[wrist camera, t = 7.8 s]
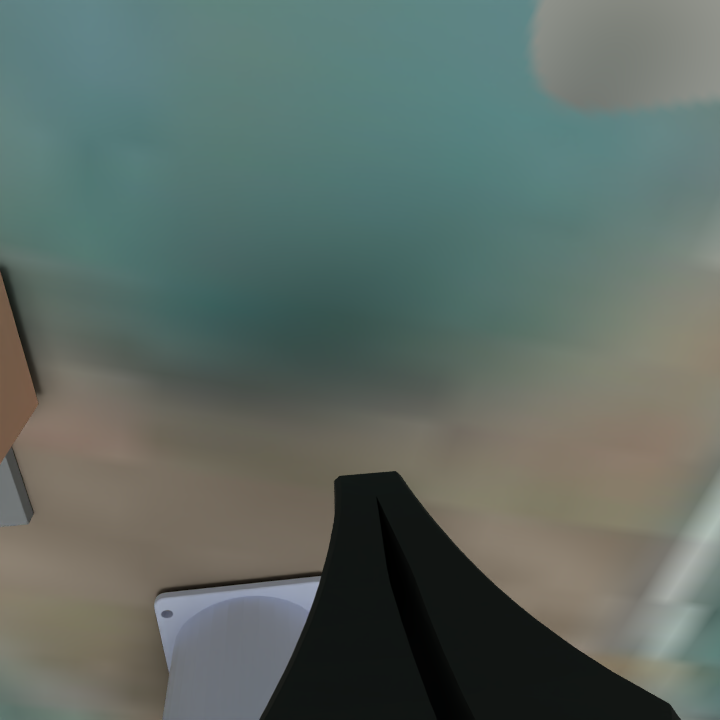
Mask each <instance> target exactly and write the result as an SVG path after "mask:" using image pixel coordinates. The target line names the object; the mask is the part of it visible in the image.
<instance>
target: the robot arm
mask: <svg viewBox="0 0 720 720" xmlns="http://www.w3.org/2000/svg"><path fill="white" fill-rule="evenodd" d="M334 494H335V516H334V524H333V529H332V534H331V539H330V544H329V549H328V553H327V557H326V561H325V564H324V568H323V572H322V575H321V576H315V577H306V578H297V579H287V580H278V581H268V582H259V583H250V584H240V585H231V586H222V587H212V588H203V589H194V590H184V591H175V592H165V593H161V594H159V595H158V596H157V597H156V599H155V604H154V608H155V613H156V617H157V622H158V626H159V631H160V635H161V640H162V644H163V648H164V653H165V657H166V662H167V666H168V671H169V680H168V686H167V693H166V699H165V706H164V712H163V719H162V720H681V719H680V718H679V716H678V715H677V714H676V712H675V711H674V709H673V708H672V706H671V705H670V704H669V703H667V702H665V701H664V700H662V699H660V698H658V697H656V696H655V695H653V694H651V693H649V692H648V691H646V690H644V689H642V688H640V687H639V686H637V685H635V684H633V683H632V682H630V681H628V680H626V679H624V678H623V677H621V676H619V675H617V674H616V673H614V672H612V671H611V670H609V669H607V668H606V667H604V666H603V665H601V664H600V663H598V662H596V661H595V660H593V659H592V658H590V657H589V656H587V655H586V654H584V653H582V652H581V651H579V650H578V649H576V648H575V647H573V646H572V645H571V644H569V643H568V642H566V641H565V640H564V639H562V638H561V637H560V636H558V635H557V634H555V633H554V632H553V631H551V630H550V629H549V628H547V627H546V626H544V625H543V624H542V623H540V622H539V621H538V620H536V619H535V618H534V617H532V616H531V615H530V614H529V613H528V612H526V611H525V610H524V609H523V608H521V607H520V606H519V605H518V604H517V603H515V602H514V601H513V600H512V599H511V598H510V597H508V596H507V595H506V594H505V593H504V592H503V591H502V590H500V589H499V588H498V587H497V586H496V585H495V584H494V583H493V582H492V581H491V580H490V579H488V578H487V577H486V576H485V575H484V574H483V573H482V572H481V571H480V570H479V569H478V568H477V567H476V566H475V565H474V564H473V563H472V562H471V561H470V560H469V559H468V558H467V557H466V556H465V555H464V553H463V552H462V551H461V550H460V549H459V548H458V547H457V546H456V545H455V544H454V543H453V542H452V540H451V539H450V538H449V537H448V536H447V535H446V533H445V532H444V531H443V530H442V529H441V528H440V527H439V525H438V524H437V523H436V522H435V521H434V519H433V518H432V517H431V516H430V515H429V513H428V512H427V511H426V510H425V508H424V507H423V506H422V504H421V503H420V502H419V501H418V499H417V498H416V497H415V495H414V494H413V493H412V491H411V490H410V488H409V487H408V486H407V484H406V483H405V481H404V480H403V478H402V477H401V475H400V474H398V473H397V472H396V471H392V472H380V473H368V474H357V475H345V476H339V477H338V478H337V479H336V480H335V481H334ZM166 610H170V611H166Z"/></svg>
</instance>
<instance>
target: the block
mask: <svg viewBox="0 0 720 720" xmlns="http://www.w3.org/2000/svg"><path fill="white" fill-rule="evenodd" d="M38 404H39V403H38V400H37V397H36V393H35V390H34V386H33V383H32V379H31V376H30V372H29V369H28V365H27V362H26V359H25V355H24V352H23V348H22V345H21V341H20V338H19V334H18V331H17V328H16V324H15V321H14V317H13V314H12V310H11V307H10V303H9V300H8V296H7V293H6V290H5V286H4V283H3V279H2V276H1V272H0V464H1V462H2V461H3V459H4V457H5V456H6V454H7V453H8V451H9V450H10V448H11V446H12V445H13V443H14V442H15V440H16V439H17V437H18V435H19V434H20V432H21V431H22V429H23V428H24V426H25V424H26V423H27V421H28V420H29V418H30V417H31V415H32V413H33V412H34V410H35V409H36V407H37V406H38Z"/></svg>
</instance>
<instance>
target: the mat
mask: <svg viewBox="0 0 720 720" xmlns="http://www.w3.org/2000/svg"><path fill="white" fill-rule="evenodd" d="M32 516H33V511H32V508H31V504H30V501H29V498H28V495H27V492H26V489H25V486H24V483H23V480H22V477H21V474H20V471H19V468H18V465H17V462H16V459H15V456H14V453H13V450H12V447H11V448H10V450H9V451H8V453H7V454H6V456H5V457H4V459H3V461H2V462H1V464H0V527H4V526H15V525H26V524H29V522H30V520H31V518H32Z"/></svg>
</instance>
